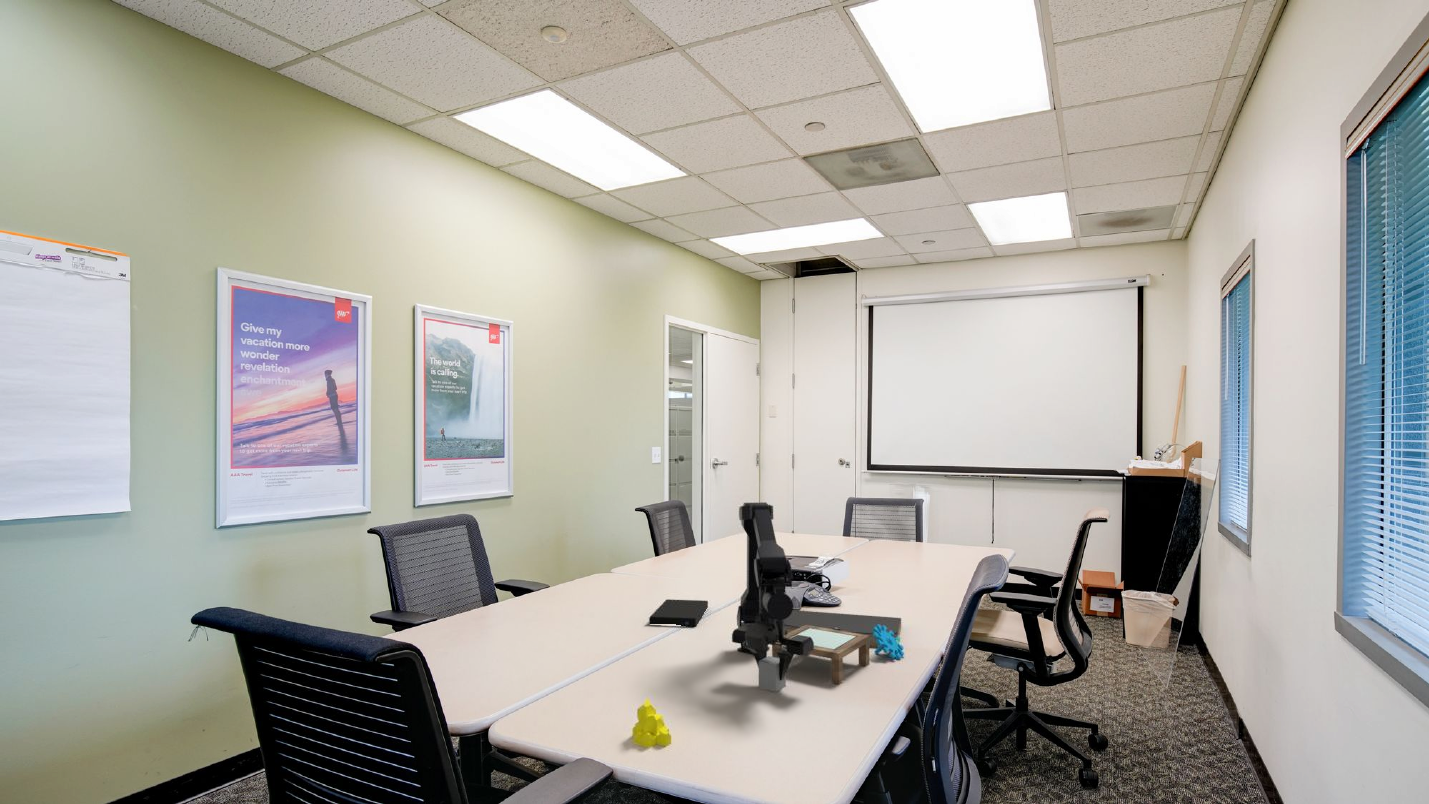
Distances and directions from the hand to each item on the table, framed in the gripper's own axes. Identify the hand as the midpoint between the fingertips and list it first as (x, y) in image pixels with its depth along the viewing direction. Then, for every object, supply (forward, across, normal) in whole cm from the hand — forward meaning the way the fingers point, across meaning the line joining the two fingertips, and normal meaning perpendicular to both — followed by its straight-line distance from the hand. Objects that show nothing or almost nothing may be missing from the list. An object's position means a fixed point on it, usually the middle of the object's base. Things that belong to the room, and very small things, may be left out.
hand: (772, 677), depth 160 cm
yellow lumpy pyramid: (+2, -5, -37) cm, 37 cm away
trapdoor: (-4, +3, +19) cm, 20 cm away
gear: (+2, +14, +37) cm, 40 cm away
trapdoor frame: (+2, +3, +19) cm, 19 cm away
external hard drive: (+3, -56, +38) cm, 67 cm away
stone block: (+2, 0, 0) cm, 2 cm away
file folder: (+3, -6, +50) cm, 50 cm away
